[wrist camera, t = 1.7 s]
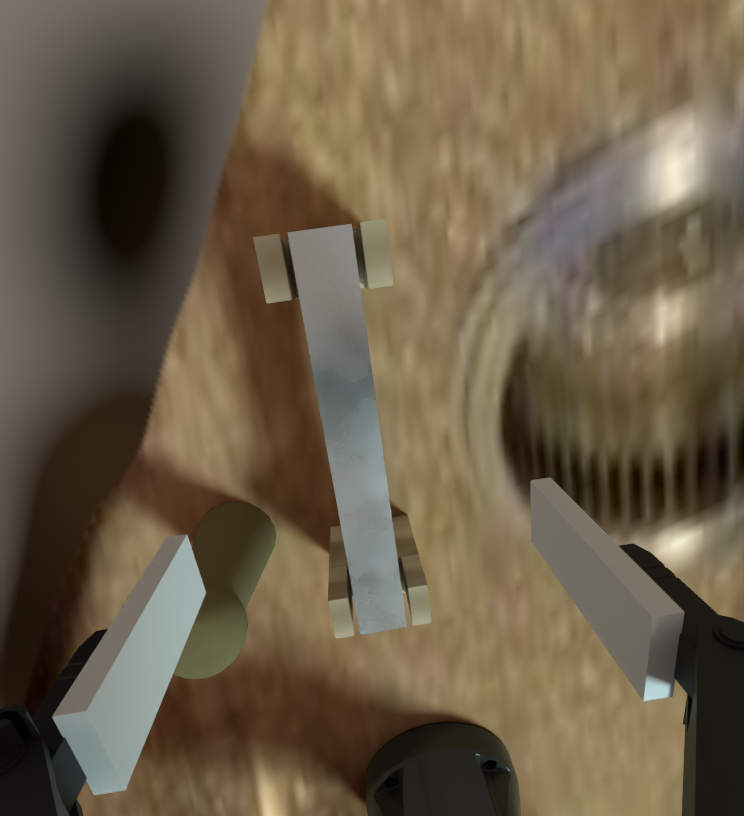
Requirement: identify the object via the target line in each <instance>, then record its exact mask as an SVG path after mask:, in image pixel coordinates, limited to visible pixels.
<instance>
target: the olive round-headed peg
mask: <svg viewBox="0 0 744 816" xmlns="http://www.w3.org/2000/svg"><path fill="white" fill-rule="evenodd" d="M275 541H276V532H275V527H274V524H273V523H272V521H271V520H270V518H269V516H268V515H266V514H265V513H264V512H263V511H262V510H261V509H259V508H257V507H255V506H252V505H250V504H247V503H240V502H231V503H223V504H221V505H219V506H216V507H214V508H212V509H211V510H210V511H209V512H208V513H206V514H205V515H204V517H203V519H202V520H201V522H200V524H199V527H198V530H197V533H196V536H195V540H194V543H193V546H192V551H193V554H194V557H195V560H196V563H197V566H198V569H199V572H200V575H201V578H202V581H203V585H204V588H205V591H206V595H205V597H204V599H203V602H202V604H201V607H200V609H199V612H198V614H197V617H196V619H195V621H194V624H193V626H192V629H191V631H190V634H189V636H188V639H187V641H186V643H185V646H184V648H183V651H182V653H181V656H180V658H179V661H178V663H177V665H176V668H175V670H174V673H173V675H176V676H179V677H182V678H188V679H202V678H209V677H211V676H213V675H216V674H218V673H220V672H221V671H223V670H224V669H225V668H226V667H227V666H229V665H230V664H231V663H232V662H234V660H235V659H236V657H237V655H238V654H239V652H240V650H241V649H242V647H243V645H244V642H245V638H246V633H247V627H248V621H247V614H246V610H245V609H246V606H247V604H248V602H249V600H250V598H251V596H252V594H253V591H254V589H255V587H256V585H257V583H258V581H259V578H260V576H261V574H262V572H263V570H264V568H265V566H266V563H267V561H268V559H269V557H270V555H271V553H272V551H273V548H274V546H275Z"/></svg>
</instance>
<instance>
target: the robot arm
mask: <svg viewBox="0 0 744 816" xmlns="http://www.w3.org/2000/svg"><path fill="white" fill-rule="evenodd" d="M531 541H532V543H533V544H534V545H535V547H536V548H537V550H538V551H539V553H540V554H541V555H542V557H543V558H544V560H545V561H546V563H547V564H548V565H549V567H550V568H551V570H552V571H553V573H554V574H555V575H556V577H557V578H558V580H559V581H560V583H561V584H562V585H563V587H564V588H565V590H566V591H567V593H568V594H569V595H570V597H571V598H572V600H573V601H574V603H575V604H576V605H577V607H578V608H579V610H580V611H581V613H582V614H583V615H584V617H585V618H586V620H587V621H588V623H589V624H590V625H591V627H592V628H593V630H594V631H595V633H596V634H597V635H598V637H599V638H600V640H601V641H602V643H603V644H604V645H605V647H606V648H607V650H608V651H609V653H610V654H611V655H612V657H613V658H614V660H615V661H616V663H617V664H618V665H619V667H620V668H621V670H622V671H623V673H624V674H625V675H626V677H627V678H628V680H629V681H630V683H631V684H632V685H633V687H634V688H635V690H636V691H637V693H638V694H639V695H640V697H641V698H642V700H643V701H648V700H654V699H660V698H666V697H672V696H673V691H674V684H675V679H676V680H677V682H678V683H679V684H680V685H681V686H682V688H683V689H684V690H685V691H686V693H687V701H686V707H685V714H684V720H683V724H684V725H685V747H684V773H683V799H682V816H744V622H741V621H739V620H736V619H734V618H731V617H726V616H721V615H718V614H717V613H716V612H715V611H714V610H713V609H712V608H710V607H709V606H708V605H707V604H706V603H705V602H704V601H703V600H702V599H701V598H700V597H698V596H697V595H696V594H695V593H694V592H693V591H692V590H691V589H690V588H689V587H688V586H686V585H685V584H684V583H683V582H682V581H681V580H680V579H679V578H676V576H675V574H673V573H672V572H671V571H670V570H669V569H668V568H665V566H664V564H663V563H661V562H660V561H659V560H658V559H657V558H656V557H655V556H654V555H653V554H652V553H650V552H648V551H646V550H645V549H643V548H641V547H639V546H637V545H635V544H627V545H621V546H618V545H617V544H616V543H615V542H614V541H613V540H612V539H611V538H610V537H609V536H608V535H607V534H606V533H605V532H604V531H603V530H602V529H601V528H600V527H599V526H598V525H597V524H596V523H595V522H594V521H593V520H592V519H591V518H590V517H589V516H588V515H587V514H586V513H585V512H584V511H583V510H582V509H581V508H580V507H579V506H578V505H577V504H576V503H575V502H574V501H573V500H572V499H571V498H570V497H569V496H568V495H567V494H566V493H565V492H564V491H563V490H562V489H561V488H560V487H559V486H558V485H557V484H556V483H555V482H554V481H553V480H552V479H551V478H545V479H538V480H532V481H531ZM205 595H206V591H205V588H204V585H203V581H202V578H201V575H200V572H199V569H198V566H197V563H196V560H195V557H194V554H193V551H192V548H191V545H190V542H189V538H188V535H187V534H185V535H179V536H172V537H167V538H166V539H165V541H164V542H163V544H162V545H161V547H160V548H159V550H158V552H157V553H156V555H155V556H154V558H153V559H152V561H151V563H150V564H149V566H148V567H147V569H146V570H145V572H144V574H143V575H142V577H141V578H140V580H139V581H138V583H137V584H136V586H135V588H134V589H133V591H132V592H131V594H130V595H129V597H128V599H127V600H126V602H125V603H124V605H123V606H122V608H121V609H120V611H119V613H118V614H117V616H116V617H115V619H114V620H113V622H112V624H111V625H110V627H109V628H108V629H106V630H100V631H96V632H95V633H94V634H92V635H91V636H90V637H89V638H88V639H87V640H86V641H85V642H84V643H83V644H82V645H81V646H80V647H79V648H78V649H77V651H76V652H75V654H74V655H73V657H72V658H71V660H70V661H69V663H68V666H67V667H65V668H64V670H63V671H62V673H61V674H60V676H59V679H58V680H57V681H56V682H55V683H54V685H53V686H52V687H51V689H50V690H49V692H48V693H47V695H46V696H45V698H44V699H43V701H42V702H41V703H40V705H39V706H38V708H37V709H36V711H35V712H34V714H33V715H32V717H30V715H29V713H28V712H27V710H26V709H25V707H24V706H19V705H13V706H9V707H5V708H2V709H0V816H83V812H82V808H81V806H80V804H79V802H78V800H77V797H78V795H79V793H80V791H81V789H82V787H83V785H84V783H85V781H87V783H88V785H89V787H90V788H91V790H92V792H93V794H94V795H99V794H105V793H111V792H117V791H123V790H126V788H127V785H128V783H129V780H130V778H131V775H132V773H133V771H134V768H135V766H136V763H137V761H138V758H139V756H140V753H141V751H142V749H143V746H144V744H145V741H146V739H147V736H148V734H149V731H150V729H151V727H152V724H153V722H154V719H155V717H156V714H157V712H158V709H159V707H160V705H161V702H162V700H163V697H164V695H165V692H166V690H167V687H168V685H169V683H170V680H171V678H172V675H173V673H174V670H175V668H176V665H177V663H178V661H179V658H180V656H181V653H182V651H183V648H184V646H185V643H186V641H187V639H188V636H189V634H190V631H191V629H192V626H193V624H194V621H195V619H196V617H197V614H198V612H199V609H200V607H201V604H202V602H203V599H204V597H205ZM365 788H366V807H367V813H368V816H521V809H520V796H519V785H518V780H517V776H516V773H515V770H514V767H513V764H512V761H511V759H510V756H509V753H508V751H507V749H506V747H505V746H504V744H503V743H502V742H501V741H500V740H499V739H498V738H497V737H496V736H494V735H493V734H491V733H490V732H488V731H486V730H484V729H481V728H479V727H476V726H472V725H467V724H460V723H441V724H433V725H428V726H424V727H420V728H417V729H414V730H411V731H409V732H407V733H404V734H402V735H400V736H399V737H397V738H395V739H394V740H392V741H391V742H389V743H388V744H387V745H386V746H384V747H383V748H382V749H381V750H380V751H379V752H378V753H377V755H376V756H375V757H374V759H373V760H372V762H371V763H370V765H369V768H368V770H367V773H366V779H365Z"/></svg>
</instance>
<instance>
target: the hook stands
mask: <svg viewBox="0 0 744 816" xmlns="http://www.w3.org/2000/svg"><path fill="white" fill-rule="evenodd" d="M353 237H354V244H355V252H356V259H357V266H358V274H359V281H360V288H362V287H366V288H368V289H372V288H379V287H386V286H393V279H392V270H391V261H390V252H389V244H388V235H387V226H386V219H382V220H375V221H367V222H360V224H359V226H358V229H353ZM253 241H254V245H255V250H256V255H257V260H258V265H259V270H260V274H261V279H262V284H263V289H264V294H265V299H266V304H267V303H274V302H281V301H288V300H292V299H294V298H296V297H299V294H298V288H297V283H296V277H295V272H294V266H293V261H292V255H291V250H290V244H289V239H286V238H285V237H283V236H282V235H280V234H273V235H265V236H258V237H253ZM392 522H393V529H394V537H395V544H396V551H397V559H398V566H399V573H400V580H401V588H402V593H404V592H406V595H407V600H408V604H409V609H410V614H411V619H412V623H413V626H415V625H421V624H427V623H431V615H430V606H429V597H428V588H427V583H426V579H425V576H424V572H423V569H422V565H421V561H420V558H419V554H418V551H417V547H416V544H415V540H414V537H413V533H412V530H411V526H410V523H409V519H408V516H407V515H402V516H396V517H392ZM353 601H354V596H353V590H352V585H351V579H350V574H349V568H348V563H347V557H346V552H345V546H344V541H343V535H342V530H341V525H339V526H333V527H330V556H329V586H328V604H329V608H330V613H331V618H332V623H333V628H334V633H335V637H336V639H337V638H343V637H349V636H354V615H353Z"/></svg>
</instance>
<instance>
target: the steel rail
mask: <svg viewBox="0 0 744 816" xmlns="http://www.w3.org/2000/svg"><path fill="white" fill-rule="evenodd" d="M287 233H288V239H289V244H290V250H291V255H292V261H293V266H294V272H295V277H296V283H297V288H298V294H299V299H300V305H301V310H302V316H303V321H304V327H305V332H306V338H307V343H308V349H309V354H310V360H311V365H312V371H313V376H314V382H315V387H316V393H317V398H318V404H319V409H320V415H321V420H322V426H323V431H324V437H325V442H326V447H327V453H328V458H329V464H330V469H331V475H332V480H333V486H334V491H335V497H336V502H337V508H338V513H339V519H340V524H341V530H342V535H343V541H344V546H345V552H346V557H347V563H348V568H349V574H350V579H351V585H352V590H353V596H354V601H355V607H356V612H357V618H358V623H359V629H360V634H367V633H373V632H379V631H385V630H391V629H397V628H403V627H407V624H406V617H405V610H404V602H403V595H402V588H401V580H400V573H399V566H398V559H397V551H396V544H395V537H394V529H393V522H392V515H391V507H390V500H389V493H388V485H387V478H386V471H385V464H384V456H383V449H382V442H381V434H380V427H379V420H378V412H377V405H376V398H375V391H374V383H373V376H372V369H371V361H370V354H369V347H368V339H367V332H366V325H365V317H364V310H363V303H362V296H361V288H360V281H359V274H358V266H357V259H356V252H355V244H354V237H353V230H352V224H346V225H338V226H331V227H324V228H316V229H309V230H302V231H295V232H287Z"/></svg>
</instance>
